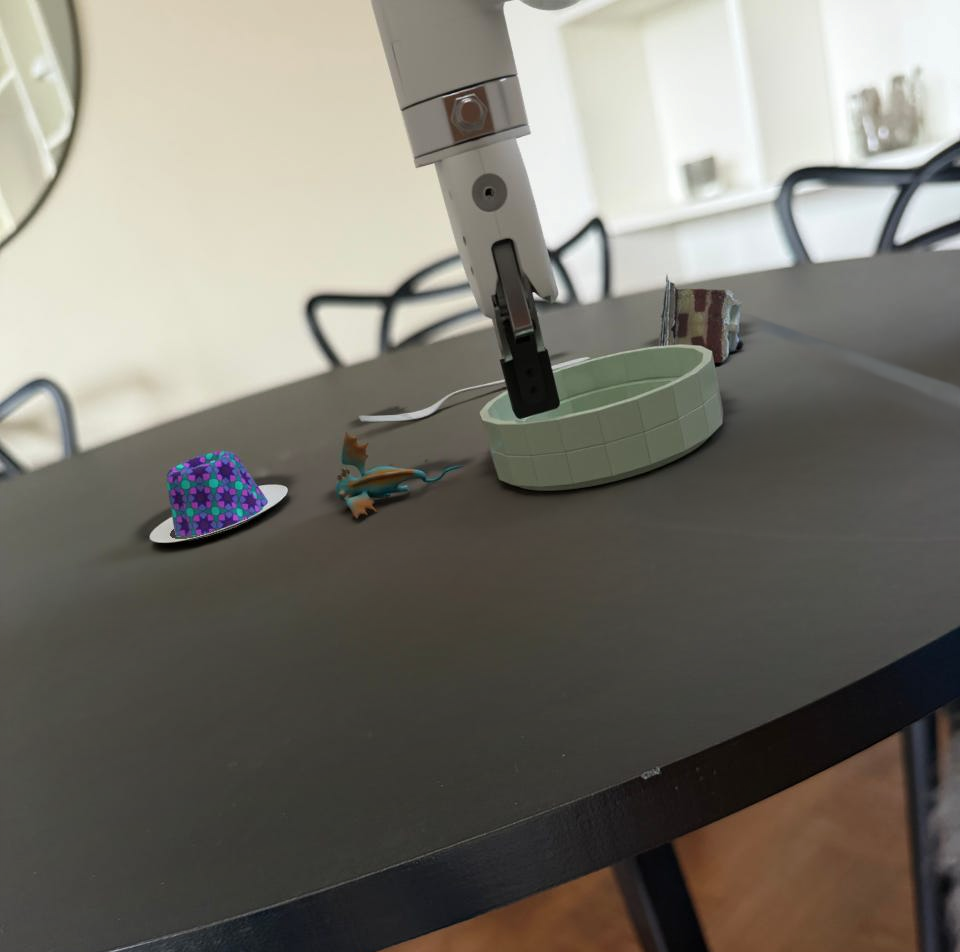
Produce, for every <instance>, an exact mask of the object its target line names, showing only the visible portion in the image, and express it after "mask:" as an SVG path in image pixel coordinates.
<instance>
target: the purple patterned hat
mask: <svg viewBox="0 0 960 952" xmlns="http://www.w3.org/2000/svg"><path fill="white" fill-rule="evenodd" d="M248 471H249V470H247V468H246V467H245V465H244V464H243V462H242V461H241V460H240V458H239V457H238V456H237V455H236V454H235V453H234V452H231V451H227V450H218V451H214V452H211V453H205V454H202V455H199V456H196V457H194V458H191V459H188V460H185V461H183V462H181V463H179V464H178V465H176V466H174V467H172V468H171V469H170V470H168V472H167V474H166V488H167V494H168V500H169V506H170V511H171V512H170V513H171V517H169V518H168V519H166V520H164V521H163V522H161V523H160V524H159V525H158V526H156V527H155V528H154V529H153V530H152V531H151V532H150V534H149V540H150V541H152V542H154V543H163V544H164V543H165V544H166V543H167V544H169V543H170V544H171V543H179V542H185V541H192V540H191V539H196V538H200V537H204V536H207V535H211V534H214V533H217V532H220V531H223V530H226V529H229V528H231V527H234V526H236V525H239V524H241V523H243V522H245V521H248V520H250V519H252V518H254V517H256V516H257V515H259V514H260V515H262V514H263V513H265V512H267V511H268V510H270V509H271V508H272V507H274V506H276V505H277V504H279V502H281V501H282V500H283V498H285V496H286V495H287V494H288V487H286V486H285V485H282V484H264V485H258V484H257V483H256V481H255V479H254V478H253V477H252V476H251V473H249V472H248ZM261 513H262V514H261ZM260 515H259V516H260ZM257 517H258V516H257ZM257 517H256V518H257ZM247 518H248V519H247ZM244 519H245V520H244ZM254 519H255V518H254ZM173 529H174V531H175V535H176V537H183V536H187V535H191V536H197V537H193V538H187V539H175V538H172V537H171V536H170V533H171V531H172V530H173ZM217 529H220V530H217ZM213 530H217V531H214V532H211V531H213ZM209 532H211V533H209ZM206 533H207V534H206ZM202 534H204V535H202ZM199 535H200V536H199ZM196 540H197V539H196Z"/></svg>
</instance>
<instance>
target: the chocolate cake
mask: <svg viewBox="0 0 960 952" xmlns="http://www.w3.org/2000/svg"><path fill="white" fill-rule="evenodd" d="M665 283H666V285H665V290H664V295H663V304H662V305H663V307H662V311H661V312H662V313H661V315H660V318H661V325H660V331H659V341H658V342H659V343H658V346H667V345H681V344H682V345H695V346H703V347H705V348H707V349H709V350H711V351H712V353H713V359H714V364H723V363H724V362H725V361H726V360H727V359H728V356H729V354H730V352H735V351H740V350H742V349H743V346H744V342H743V341H742V340H740V339H739V337H738V334H739V332H740V318H741V312H740V309H741V306H742V301H741V300H739V299H737V298H733V297H734V293H733V292H732V291H731V290H729V289H716V288H715V289H714V288H713V289H712V288H710V289H707V288H677V287H676V284H675V283H674V282H672V281H670V280H669V276H668V275H666V277H665Z"/></svg>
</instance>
